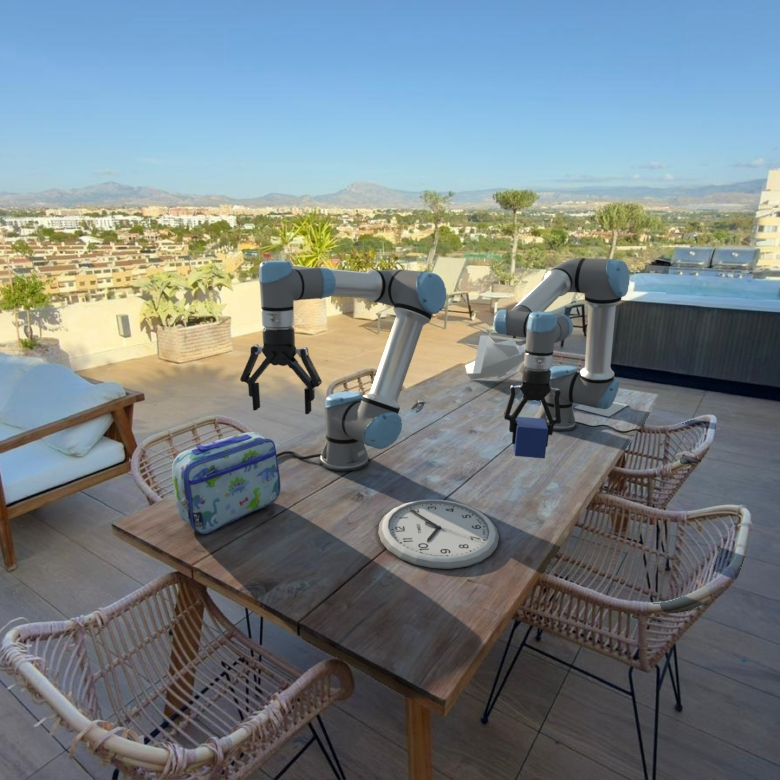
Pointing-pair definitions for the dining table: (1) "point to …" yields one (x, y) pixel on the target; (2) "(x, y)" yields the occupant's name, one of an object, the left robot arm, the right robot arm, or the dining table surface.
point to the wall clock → (438, 534)
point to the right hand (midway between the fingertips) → (529, 443)
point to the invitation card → (606, 412)
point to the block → (530, 437)
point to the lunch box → (225, 480)
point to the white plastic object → (495, 358)
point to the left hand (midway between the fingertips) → (282, 410)
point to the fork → (418, 402)
